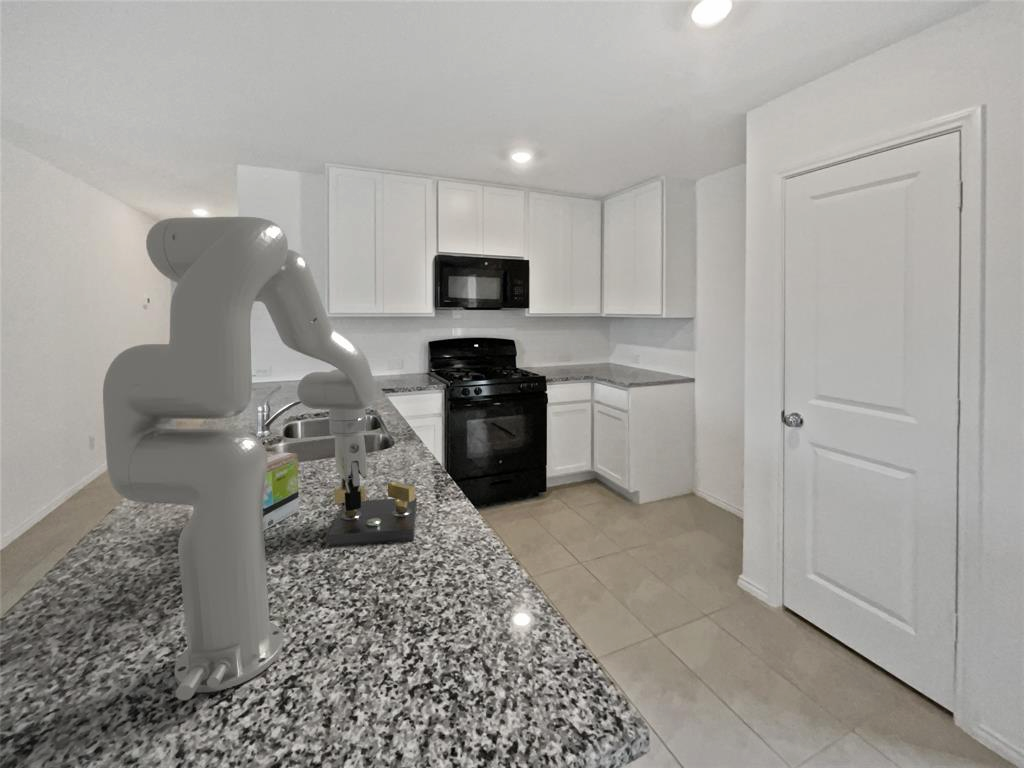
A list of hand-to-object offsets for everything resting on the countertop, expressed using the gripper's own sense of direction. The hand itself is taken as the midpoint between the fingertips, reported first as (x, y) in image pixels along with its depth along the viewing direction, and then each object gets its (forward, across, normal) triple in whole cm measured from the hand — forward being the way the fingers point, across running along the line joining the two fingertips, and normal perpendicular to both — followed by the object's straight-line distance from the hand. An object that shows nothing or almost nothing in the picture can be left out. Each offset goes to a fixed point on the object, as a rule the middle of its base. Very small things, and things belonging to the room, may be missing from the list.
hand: (351, 505), depth 103 cm
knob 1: (+2, 0, 0) cm, 2 cm away
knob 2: (+2, -4, -10) cm, 11 cm away
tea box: (+5, +14, +17) cm, 23 cm away
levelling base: (+5, -2, -5) cm, 7 cm away
